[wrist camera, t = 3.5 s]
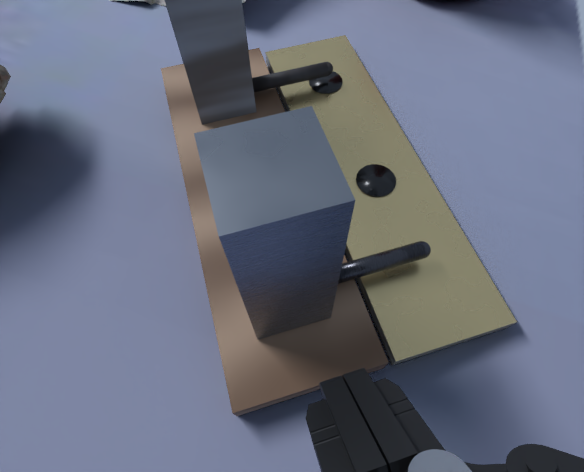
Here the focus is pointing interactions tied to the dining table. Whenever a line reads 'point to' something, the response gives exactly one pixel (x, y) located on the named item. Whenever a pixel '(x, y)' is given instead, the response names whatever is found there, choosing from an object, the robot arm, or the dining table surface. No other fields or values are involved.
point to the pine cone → (3, 81)
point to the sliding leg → (285, 218)
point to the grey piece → (156, 1)
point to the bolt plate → (394, 211)
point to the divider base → (218, 276)
